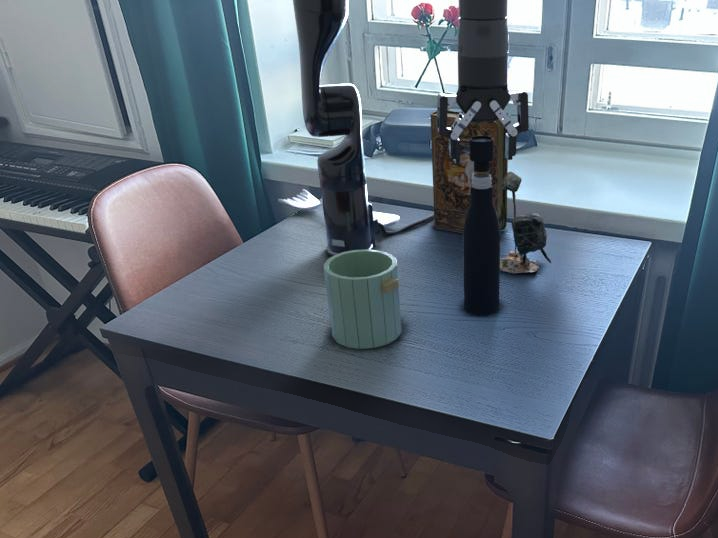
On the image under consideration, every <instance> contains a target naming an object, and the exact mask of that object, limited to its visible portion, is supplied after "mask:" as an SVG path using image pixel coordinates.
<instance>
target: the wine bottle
mask: <svg viewBox="0 0 718 538" xmlns="http://www.w3.org/2000/svg"><path fill="white" fill-rule="evenodd" d="M470 160H471V161H473V162H474V173H475V174H473V175H472V186H471V187H470V205H469V208H468V211H467V214H466V218H465V223H464V229H463V233H462V261H463V262H462V268H463V269H462V271H463V275H462V276H463V309H464V310H465V312H467V313H468V314H471V315H474V316H488V315H493V314H495V313H496V312H498V310H500V288H501V287H500V284H501V283H500V281H501V280H500V279H501V270H500V258H501V231H500V226H499V220H498V216H497V213H496V210H495V207H494V204H493V186H492V185H491V184H492V182H491V180H492V178H491V175H490V174H488V173H489V172H490V169H489V162H490V161H493V160H494V139H493V138H492V137H488V136H475V137H472V138H470Z"/></svg>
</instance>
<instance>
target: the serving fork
mask: <svg viewBox="0 0 718 538" xmlns="http://www.w3.org/2000/svg"><path fill="white" fill-rule="evenodd" d="M277 201H278V203H280V204H282V205H284V206H288V207H292V208H295V209H299V210H304V211H312V210H317V209H319V208H323V204H322V202H320V200H319V199H318V198H317V197H315V196H314V195H312V194H311V193H310V192H309V190H306V189H304V188H302V189H301V192H299V194H296V197H295V196H293V197H291V198H288V197H287V198H283V199H282V198H278V199H277ZM373 218H376V219H378V222H380V223H382V224H383V225H384V226H385V228H387V227H390V226H394V225H395V224H397V223H398V222H399V221H400V216H399V215H397V214H393V213H385V212H378V211H373ZM378 228H379V229H381V228H380V227H378Z"/></svg>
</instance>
